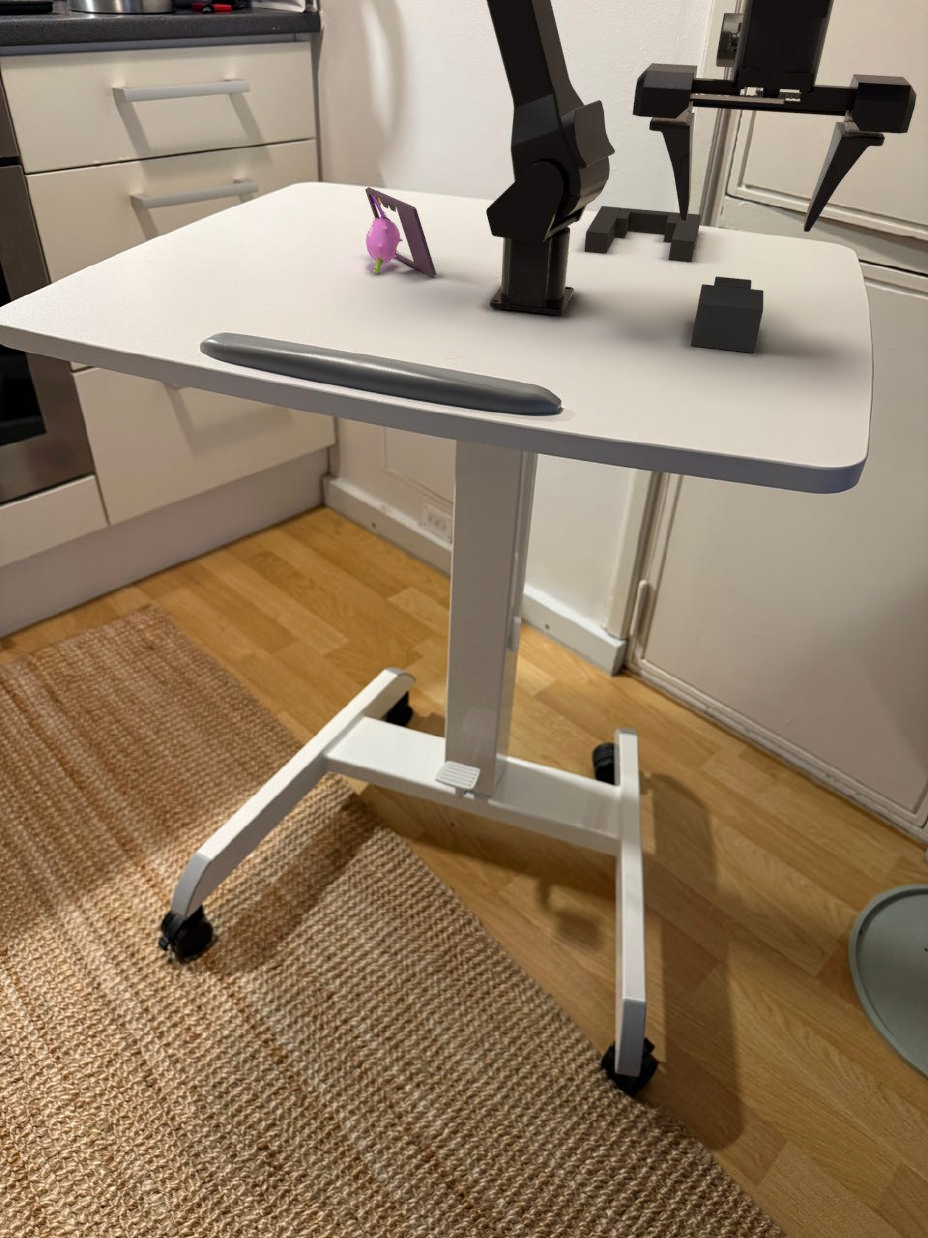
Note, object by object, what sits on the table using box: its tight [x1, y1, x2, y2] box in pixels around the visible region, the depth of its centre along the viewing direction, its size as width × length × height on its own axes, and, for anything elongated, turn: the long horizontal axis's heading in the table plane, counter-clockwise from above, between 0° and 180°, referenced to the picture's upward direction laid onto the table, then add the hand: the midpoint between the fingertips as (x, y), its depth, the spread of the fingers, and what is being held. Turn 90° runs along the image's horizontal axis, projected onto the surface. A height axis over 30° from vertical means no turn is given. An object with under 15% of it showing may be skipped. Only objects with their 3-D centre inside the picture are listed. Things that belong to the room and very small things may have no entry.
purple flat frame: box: [364, 186, 437, 278], centre depth 86 cm, size 7×5×9 cm
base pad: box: [583, 205, 702, 262], centre depth 96 cm, size 11×11×2 cm
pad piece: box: [690, 276, 765, 354], centre depth 74 cm, size 8×5×4 cm, turn 165°
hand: (744, 225), depth 69 cm, fingers open, 9 cm apart
